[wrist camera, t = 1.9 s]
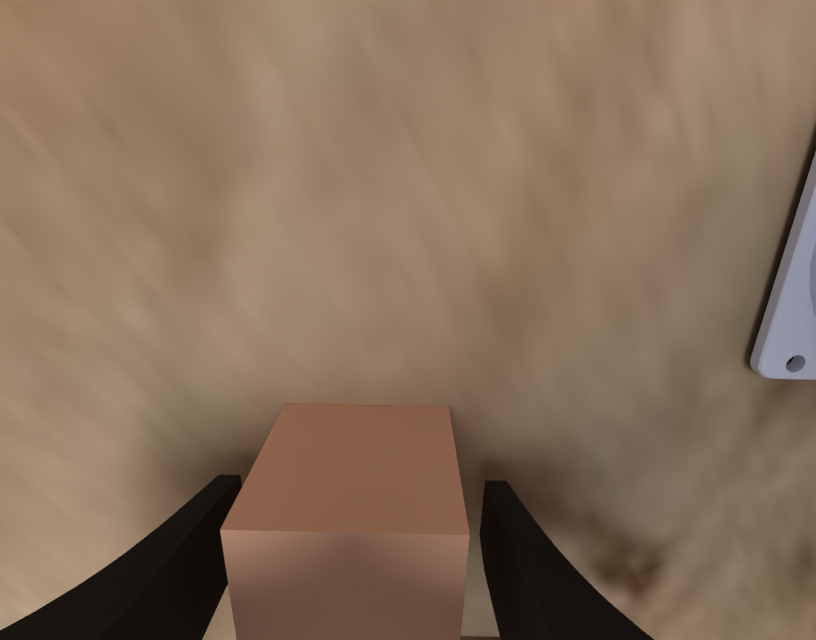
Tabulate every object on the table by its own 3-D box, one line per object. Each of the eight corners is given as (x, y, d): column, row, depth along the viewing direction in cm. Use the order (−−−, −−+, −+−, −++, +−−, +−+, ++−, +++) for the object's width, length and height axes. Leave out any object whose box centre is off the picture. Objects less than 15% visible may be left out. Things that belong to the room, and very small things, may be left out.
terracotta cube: (448, 405, 14) (469, 534, 9) (440, 531, 15) (454, 697, 10) (285, 402, 14) (219, 529, 9) (296, 529, 15) (245, 693, 10)
